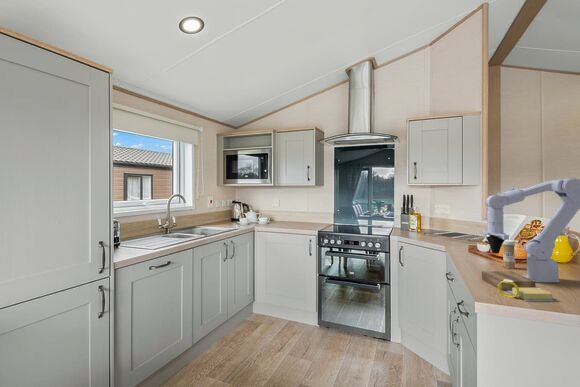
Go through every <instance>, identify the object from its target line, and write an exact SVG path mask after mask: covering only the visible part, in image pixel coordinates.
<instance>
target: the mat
mask: <svg viewBox="0 0 580 387" xmlns="http://www.w3.org/2000/svg"><path fill="white" fill-rule="evenodd" d="M505 291H506V292H508V293H510V294H511V295H513V296H515V294H513V293H512V290H505ZM516 297H517V298H519V299H522V301H525V302H541V303H543V302H545V303H546V302H549V303H550V302H552V303H553V302H554V303H555V302H556V300H555V299H552V300H550V299H523V298H521V297H519V296H516Z"/></svg>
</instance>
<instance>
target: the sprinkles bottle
mask: <svg viewBox="0 0 580 387" xmlns="http://www.w3.org/2000/svg"><path fill="white" fill-rule="evenodd" d="M515 245H516V242H515V240H513V239H509V240H505V241H504V242H503V244H502V246H503V249H502V250H503V254H502V255H503V256H502V258H503V259H502V260H503V266H502V267H503V268H505V269H509V270H515V268H516V266H515V265H516V264H515V263H516V261H515V260H516V258H515V257H516V255H515V254H516V253H515V252H516V251H515Z"/></svg>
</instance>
